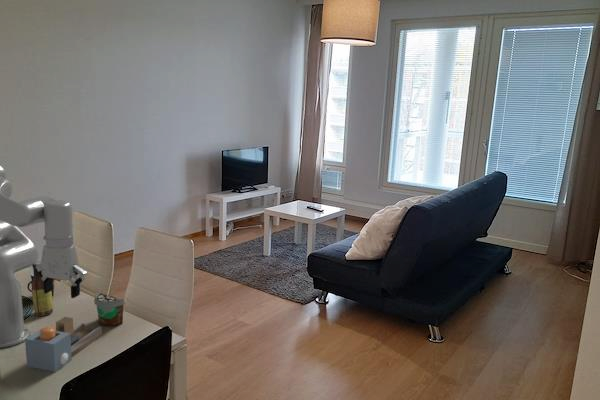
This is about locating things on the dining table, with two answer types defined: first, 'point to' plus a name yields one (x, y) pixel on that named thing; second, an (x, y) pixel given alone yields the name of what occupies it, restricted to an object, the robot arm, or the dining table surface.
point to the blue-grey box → (48, 351)
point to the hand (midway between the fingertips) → (62, 294)
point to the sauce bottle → (40, 295)
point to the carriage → (67, 328)
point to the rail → (84, 338)
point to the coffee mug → (32, 278)
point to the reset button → (47, 333)
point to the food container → (109, 310)
